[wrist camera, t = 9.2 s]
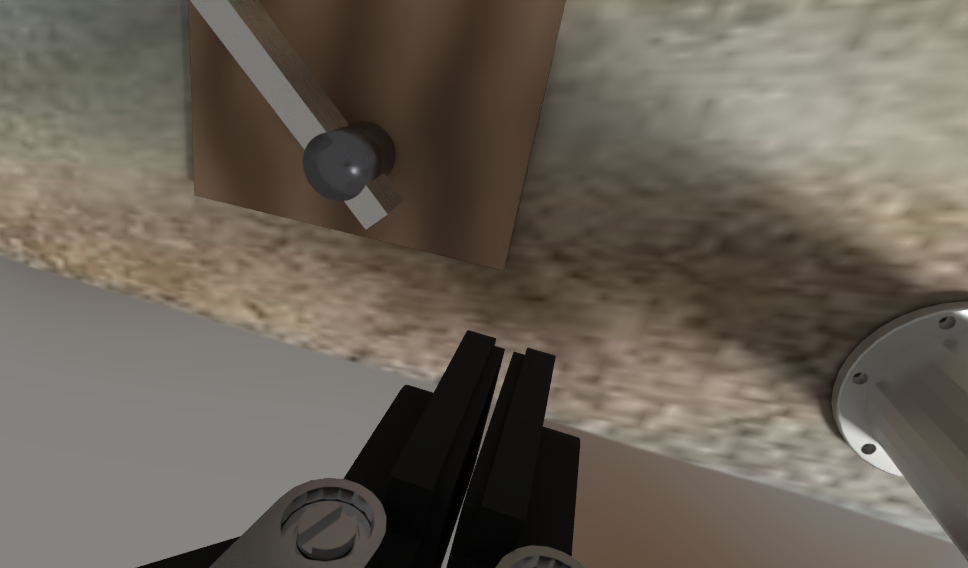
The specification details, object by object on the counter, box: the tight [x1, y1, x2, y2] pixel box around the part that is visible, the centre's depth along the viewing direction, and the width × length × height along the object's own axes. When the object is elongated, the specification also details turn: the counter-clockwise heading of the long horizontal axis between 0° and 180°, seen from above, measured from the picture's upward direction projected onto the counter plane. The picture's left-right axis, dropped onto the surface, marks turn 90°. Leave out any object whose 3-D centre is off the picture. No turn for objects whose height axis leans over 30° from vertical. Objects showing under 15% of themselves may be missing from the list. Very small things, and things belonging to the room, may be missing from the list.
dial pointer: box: [190, 0, 404, 229], centre depth 30 cm, size 18×4×5 cm, turn 36°
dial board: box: [188, 0, 566, 270], centre depth 31 cm, size 21×23×2 cm
